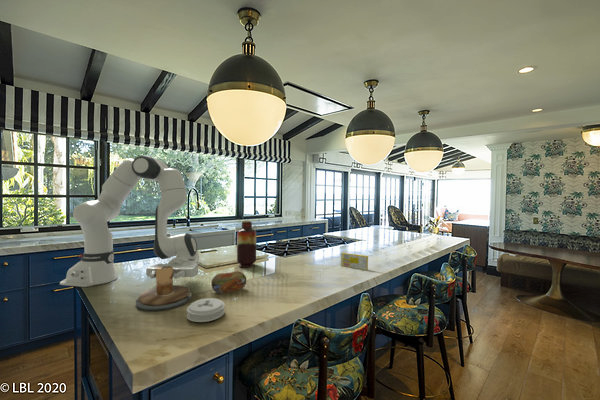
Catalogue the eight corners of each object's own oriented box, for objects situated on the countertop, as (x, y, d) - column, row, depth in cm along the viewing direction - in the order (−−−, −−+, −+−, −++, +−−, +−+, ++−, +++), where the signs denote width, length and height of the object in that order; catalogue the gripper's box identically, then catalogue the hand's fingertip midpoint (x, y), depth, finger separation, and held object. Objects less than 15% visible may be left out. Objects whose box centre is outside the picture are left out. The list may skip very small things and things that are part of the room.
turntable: (128, 305, 102) (128, 301, 102) (154, 288, 120) (154, 284, 120) (181, 306, 102) (181, 302, 102) (199, 288, 120) (199, 285, 120)
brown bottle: (233, 265, 163) (233, 221, 163) (249, 262, 171) (249, 220, 170) (243, 269, 155) (243, 223, 154) (259, 265, 163) (260, 221, 162)
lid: (220, 324, 92) (220, 309, 92) (181, 325, 91) (181, 310, 91) (227, 308, 105) (227, 295, 105) (193, 309, 104) (193, 295, 104)
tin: (212, 295, 117) (212, 275, 117) (210, 292, 120) (210, 273, 120) (246, 289, 124) (246, 271, 124) (244, 287, 127) (244, 269, 127)
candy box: (368, 270, 157) (368, 255, 157) (366, 271, 155) (367, 256, 155) (341, 265, 166) (342, 252, 165) (340, 266, 164) (340, 252, 163)
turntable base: (124, 310, 101) (124, 306, 101) (153, 290, 121) (153, 287, 121) (178, 311, 101) (178, 307, 101) (198, 291, 121) (198, 288, 121)
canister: (153, 295, 108) (152, 270, 108) (161, 289, 114) (160, 265, 114) (168, 295, 108) (168, 270, 108) (175, 290, 114) (175, 265, 114)
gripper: (155, 259, 124) (137, 268, 110) (201, 260, 124) (189, 268, 110) (155, 273, 124) (137, 283, 110) (201, 273, 124) (189, 284, 110)
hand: (163, 276), depth 110 cm, fingers open, 8 cm apart
